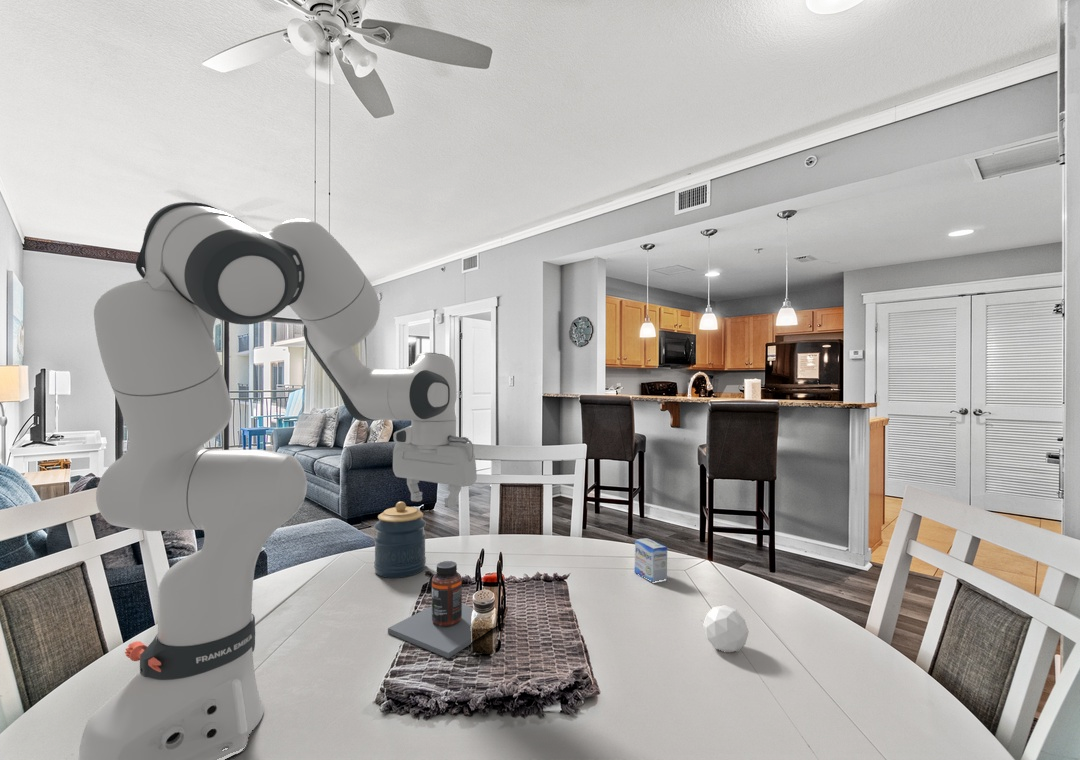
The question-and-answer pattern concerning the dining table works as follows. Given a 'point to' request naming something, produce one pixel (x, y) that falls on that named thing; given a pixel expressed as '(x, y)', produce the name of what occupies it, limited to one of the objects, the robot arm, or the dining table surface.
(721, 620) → the geometric ball
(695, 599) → the dining table surface
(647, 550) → the medicine box
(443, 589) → the supplement bottle
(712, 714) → the dining table surface
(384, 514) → the canister
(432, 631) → the mat
